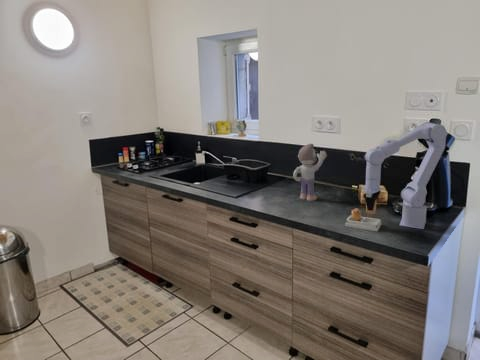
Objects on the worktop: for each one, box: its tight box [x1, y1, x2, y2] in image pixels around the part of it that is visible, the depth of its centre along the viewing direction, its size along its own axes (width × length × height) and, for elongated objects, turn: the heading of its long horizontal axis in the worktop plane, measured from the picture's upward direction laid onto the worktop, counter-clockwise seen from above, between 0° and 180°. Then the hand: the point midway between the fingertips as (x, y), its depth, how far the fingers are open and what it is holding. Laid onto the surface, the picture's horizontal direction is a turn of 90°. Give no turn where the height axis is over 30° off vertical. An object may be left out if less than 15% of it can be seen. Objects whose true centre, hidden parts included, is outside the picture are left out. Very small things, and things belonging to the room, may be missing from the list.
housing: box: [344, 207, 382, 232], centre depth 159 cm, size 14×8×7 cm, turn 60°
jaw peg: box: [362, 195, 377, 215], centre depth 156 cm, size 5×4×7 cm
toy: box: [292, 143, 328, 202], centre depth 193 cm, size 18×9×30 cm, turn 47°
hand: (371, 208), depth 156 cm, fingers closed on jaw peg, 4 cm apart
